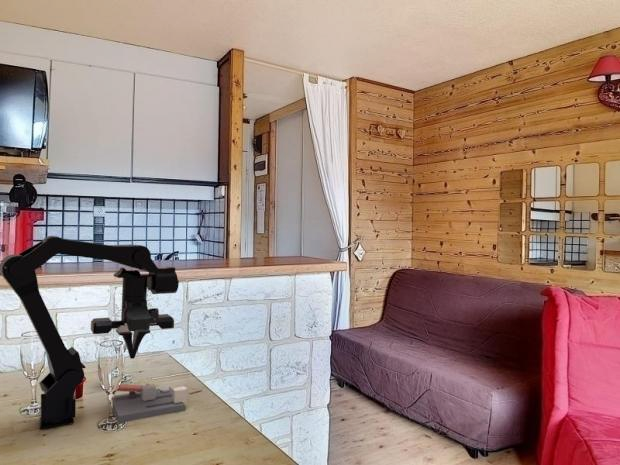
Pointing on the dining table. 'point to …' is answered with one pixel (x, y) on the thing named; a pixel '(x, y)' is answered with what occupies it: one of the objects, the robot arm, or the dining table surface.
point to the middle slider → (148, 392)
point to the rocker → (130, 388)
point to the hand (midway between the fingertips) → (132, 358)
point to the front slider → (179, 394)
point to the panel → (145, 405)
